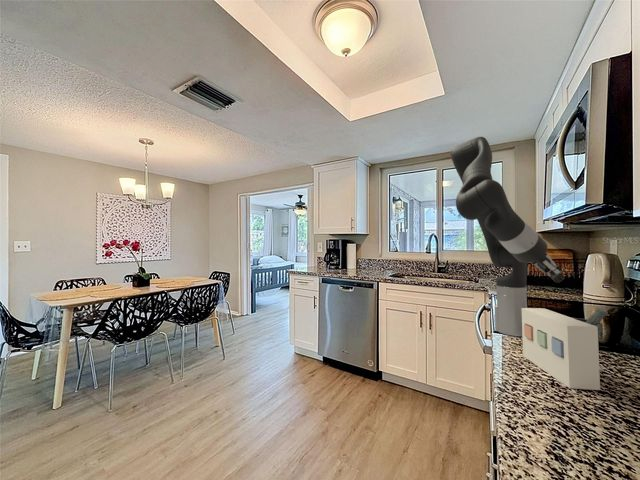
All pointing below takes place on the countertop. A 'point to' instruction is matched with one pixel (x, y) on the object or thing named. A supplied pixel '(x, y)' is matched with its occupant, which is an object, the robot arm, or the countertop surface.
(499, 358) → the countertop surface
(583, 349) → the control box
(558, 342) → the blue button
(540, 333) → the sage button
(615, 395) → the countertop surface
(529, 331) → the terracotta button
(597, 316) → the mortar and pestle
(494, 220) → the robot arm
